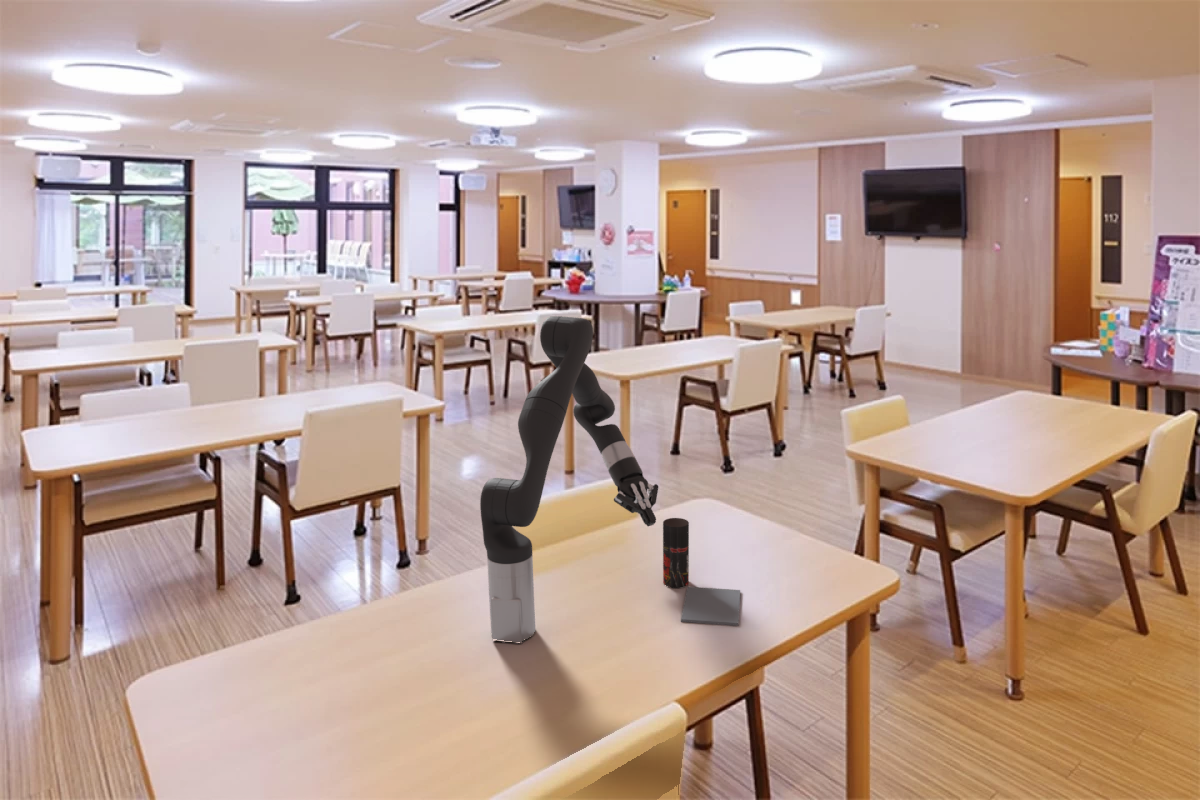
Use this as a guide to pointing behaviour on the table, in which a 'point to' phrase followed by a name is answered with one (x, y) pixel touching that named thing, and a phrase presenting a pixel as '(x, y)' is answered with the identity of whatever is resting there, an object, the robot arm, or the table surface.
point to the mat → (711, 606)
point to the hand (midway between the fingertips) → (652, 524)
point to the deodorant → (676, 552)
